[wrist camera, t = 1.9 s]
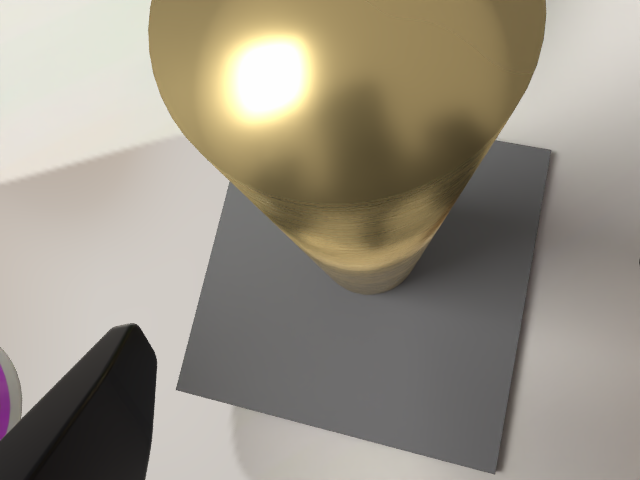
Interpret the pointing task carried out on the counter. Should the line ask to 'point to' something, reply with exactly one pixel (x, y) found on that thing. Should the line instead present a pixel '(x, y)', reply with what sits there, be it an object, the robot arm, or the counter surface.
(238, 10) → the brass pin
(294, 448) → the counter surface
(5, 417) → the supplement bottle
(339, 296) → the charcoal mat
